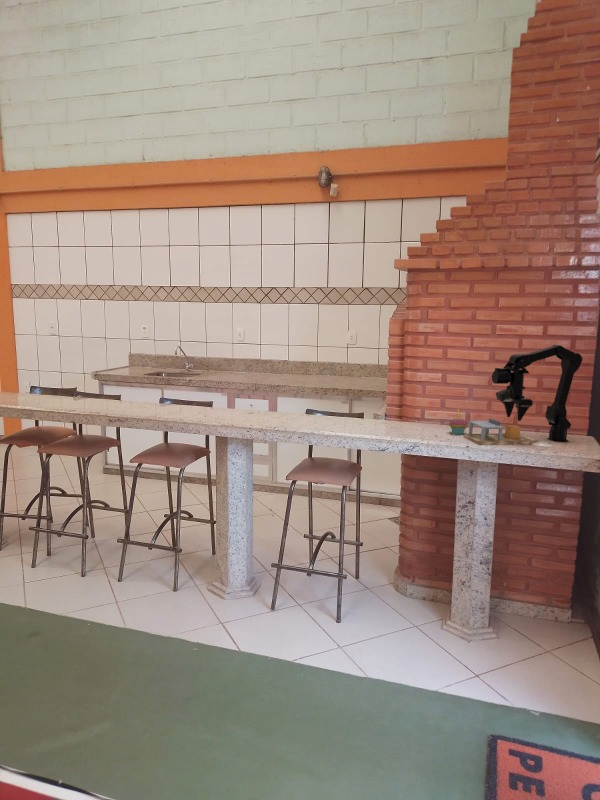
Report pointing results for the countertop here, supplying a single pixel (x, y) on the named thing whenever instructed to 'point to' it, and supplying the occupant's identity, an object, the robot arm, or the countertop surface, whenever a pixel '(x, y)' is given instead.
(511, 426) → the block
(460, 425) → the cupcake
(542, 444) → the dish
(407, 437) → the countertop surface
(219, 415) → the countertop surface
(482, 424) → the grey toy table
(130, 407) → the countertop surface
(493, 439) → the board
